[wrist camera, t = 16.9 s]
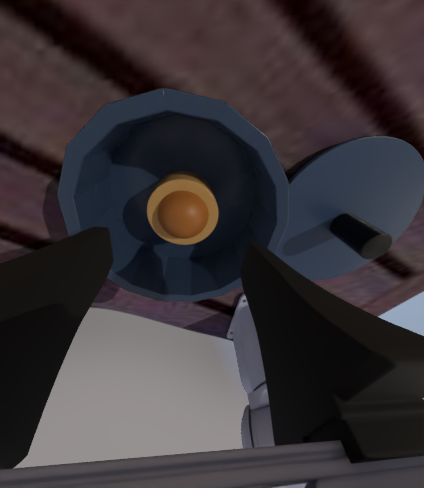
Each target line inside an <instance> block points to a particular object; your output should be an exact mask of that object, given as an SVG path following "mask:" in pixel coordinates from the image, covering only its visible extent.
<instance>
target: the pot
mask: <svg viewBox="0 0 424 488" xmlns="http://www.w3.org/2000/svg"><path fill="white" fill-rule="evenodd" d="M182 170H184V171H191V172H194V173H196V174H198V175H200V176H202V177H203V178H204V179H205V180H206V181H207V182H208V183H209V184H210V186H211V188H212V190H213V192H214V196H215V199H216V202H217V206H218V221H217V224H216V226H215V228H214V230H213V231H212V232H211V234H210V235H209V236H208V237H206V238H205V239H203V240H202V241H200V242H197V243H194V244H189V245H179V244H174V243H171V242H168V241H166V240H164V239H163V238H161V237H160V236H159V235H158V234H157V233H156V232H155V231H154V230H153V228H152V227H151V225H150V223H149V220H148V217H147V204H148V200H149V198H150V196H151V194H152V192H153V191H154V189H155V187H156V186H157V184H158V182H159V181H160V180H161V179H162V178H163V177H164V176H166V175H167V174H169V173H172V172H175V171H182ZM57 194H58V195H57V197H58V200H59V204H60V207H61V211H62V214H63V218H64V221H65V225H66V228H67V232H68V235H69V237H70V236H72V235H75V234H77V233H79V232H82V231H84V230H86V229H89V228H92V227H95V226H97V227H107V228H109V231H110V238H111V245H112V252H113V259H114V262H113V264H112V267H111V269H110V272H109V274H108V277H107V278H108V279H110V280H111V281H113V282H114V283H116V284H117V285H119V286H120V287H122V288H123V289H125V290H126V291H130V292H133V293H136V294H139V295H142V296H146V297H149V298H152V299H155V300H160V301H182V302H195V301H199V300H204V299H208V298H213V297H217V296H221V295H224V294H226V293H228V292H230V291H232V290H233V289H235V288H237V287H239V286H241V285H242V281H241V275H240V268H241V265H242V262H243V259H244V256H245V253H246V250H247V246H248V243H249V242H254V243H260V244H262V245H263V246H265V247H266V248H267V249H269V250H270V251H271V252H272V253H274V254H275V253H276V250H277V248H278V246H279V244H280V241H281V239H282V237H283V234H284V232H285V230H286V227H287V225H288V210H289V183H288V179H287V177H286V175H285V172H284V170H283V168H282V166H281V164H280V161H279V159H278V157H277V155H276V153H275V150H274V148H273V146H272V144H271V142H270V139H268V137H267V136H266V135H265V134H264V133H263V132H261V131H260V130H259V129H258V128H257V127H255V126H254V125H253V124H252V123H250V122H249V121H248V120H247V119H246V118H244V117H243V116H242V115H241V114H240V113H238V112H237V111H236V110H235V109H234V108H232V107H231V106H230V105H229V104H228V103H226V102H224V101H221V100H217V99H212V98H208V97H204V96H199V95H195V94H190V93H186V92H181V91H177V90H173V89H168V88H164V89H163V88H160V89H157V90H153V91H150V92H146V93H143V94H139V95H136V96H132V97H129V98H125V99H122V100H119V101H115V102H112V103H108V104H106V105H104V106H103V107H102V108H101V109H100V110H99V111H98V112H97V113H96V114H95V115H94V116H93V117H92V118H91V120H90V121H89V122H88V123H87V124H86V125H85V126H84V127H83V128H82V129H81V130H80V132H79V133H78V134H77V135H76V136H75V137H74V138H73V139H72V140H71V141H70V142H69V143H68V145H67V147H66V151H65V156H64V161H63V166H62V171H61V176H60V181H59V186H58V191H57Z"/></svg>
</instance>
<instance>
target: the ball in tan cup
mask: <svg viewBox="0 0 424 488" xmlns="http://www.w3.org/2000/svg"><path fill="white" fill-rule="evenodd" d="M147 217H148V220H149V223H150V225H151V227H152V228H153V230H154V231H155V232H156V233H157V234H158V235H159V236H160V237H161V238H163V239H164V240H166V241H168V242H171V243H174V244H179V245H189V244H194V243H197V242H200V241H202V240H203V239H205V238H206V237H208V236H209V235H210V234H211V232H212V231H213V230H214V228H215V226H216V224H217V221H218V206H217V202H216V199H215V196H214V192H213V190H212V188H211V186H210V184H209V183H208V182H207V181H206V180H205V179H204V178H203V177H202V176H200V175H198V174H196V173H194V172H191V171H184V170H182V171H175V172H172V173H169V174H167V175H166V176H164V177H163V178H162V179H161V180H160V181H159V182H158V184H157V186H156V187H155V189H154V191H153V192H152V194H151V196H150V198H149V200H148V204H147Z"/></svg>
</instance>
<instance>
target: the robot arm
mask: <svg viewBox="0 0 424 488" xmlns="http://www.w3.org/2000/svg"><path fill="white" fill-rule="evenodd" d="M113 262H114V259H113V252H112V245H111V238H110V231H109V228H107V227H97V226H95V227H92V228H89V229H86V230H84V231H82V232H79V233H77V234H75V235H72V236H70V237H68V238H65V239H63V240H61V241H58V242H56V243H54V244H51V245H49V246H46V247H44V248H41V249H39V250H36V251H34V252H31V253H28V254H26V255H23V256H21V257H18V258H15V259H12V260H9V261H6V262H3V263H0V488H424V400H423V399H422V398H424V336H422V335H419V334H417V333H414V332H412V331H409V330H407V329H405V328H402V327H400V326H397V325H394V324H392V323H390V322H388V321H385V320H383V319H381V318H379V317H377V316H374V315H372V314H370V313H368V312H366V311H364V310H362V309H360V308H358V307H355V306H353V305H352V304H350V303H348V302H346V301H344V300H342V299H340V298H338V297H336V296H335V295H333V294H331V293H329V292H328V291H326V290H324V289H323V288H321V287H320V286H318V285H316V284H315V283H313V282H312V281H310V280H308V279H307V278H306V277H304V276H303V275H301V274H300V273H298V272H297V271H296V270H294V269H293V268H292V267H290V266H289V265H288V264H286V263H285V262H284V261H283V260H281V259H280V258H279V257H277V256H276V255H275V254H274V253H272V252H271V251H270V250H269V249H267V248H266V247H265V246H263V245H262V244H260V243H254V242H249V243H248V246H247V250H246V253H245V256H244V259H243V262H242V265H241V268H240V275H241V281H242V286H243V290H244V293H245V294H242V295H241V296H240V299H239V302H238V305H237V307H236V310H235V313H234V316H233V318H232V321H231V324H230V327H229V329H228V332H227V338H229V339H233V340H234V345H235V351H236V356H237V362H238V367H239V372H240V377H241V381H242V385H243V387H244V389H245V390H246V392H247V394H248V399H249V404H250V405H247V406H246V408H245V410H244V414H243V418H242V423H241V435H242V445H243V449H233V450H222V451H210V452H198V453H188V454H175V455H164V456H153V457H141V458H129V459H118V460H106V461H95V462H83V463H72V464H60V465H49V466H37V467H26V468H15V469H12V468H14V467H15V466H16V465H17V464H19V463H20V462H21V461H22V460H23V459H24V458H25V457H26V456H27V455H28V452H29V449H30V446H31V443H32V440H33V438H34V435H35V432H36V430H37V427H38V424H39V421H40V419H41V416H42V413H43V410H44V408H45V405H46V402H47V400H48V397H49V395H50V392H51V390H52V387H53V385H54V382H55V380H56V377H57V375H58V372H59V370H60V368H61V365H62V363H63V360H64V358H65V356H66V354H67V351H68V349H69V347H70V345H71V343H72V340H73V338H74V336H75V334H76V332H77V329H78V327H79V325H80V324H81V321H82V320H83V318H84V316H85V314H86V313H87V311H88V309H89V308H90V306H91V304H92V303H93V301H94V299H95V298H96V296H97V294H98V293H99V291H100V289H101V287H102V286H103V284H104V282H105V280H106V279H107V277H108V274H109V272H110V269H111V267H112V264H113Z"/></svg>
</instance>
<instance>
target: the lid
mask: <svg viewBox="0 0 424 488" xmlns="http://www.w3.org/2000/svg"><path fill="white" fill-rule="evenodd" d="M288 183H289V210H288V225H287V227H286V230H285V232H284V234H283V237H282V239H281V241H280V244H279V246H278V248H277V250H276V253H275V255H276V256H277V257H279V258H280V259H281V260H283V261H284V262H285V263H286V264H288V265H289V266H290V267H292V268H293V269H294V270H296V271H297V272H298V273H300V274H301V275H303V276H304V277H306V278H307V279H308V280H318V279H327V278H332V277H336V276H340V275H342V274H345V273H348V272H350V271H353V270H355V269H357V268H359V267H361V266H363V265H365V264H366V263H368V262H370V261H371V260H373V259H374V258H377V257H379V256H381V255H383V254H384V253H385V252H387V251H388V249H389V248H390V247H391V245H392V244H393V243H394V242H395V241H396V240H397V239H398V238H399V237H400V236H401V234H402V233H403V232H404V231H405V230H406V228H407V227H408V226H409V224H410V223H411V221H412V220H413V218H414V217H415V215H416V213H417V211H418V209H419V207H420V205H421V202H422V199H423V197H424V162H423V159H422V157H421V156H420V154H419V152H418V151H417V150H416V149H415V148H414V147H413V146H412V145H410V144H408V143H407V142H405V141H403V140H400V139H397V138H394V137H387V136H365V137H360V138H355V139H352V140H348V141H345V142H342V143H340V144H338V145H336V146H334V147H331V148H329V149H327V150H326V151H324V152H322V153H321V154H319V155H317V156H316V157H315V158H313V159H312V160H311V161H309V162H308V163H307V164H305V165H304V166H303V167H302V168H301V169H300V170H299V171H298V172H297V173H296V174H295V175H294V176H293V177H292V178H291V179H290V180H289V181H288Z"/></svg>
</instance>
